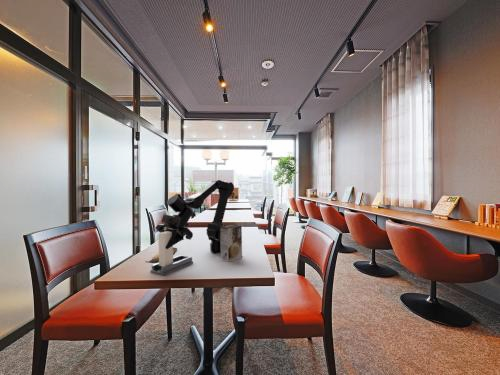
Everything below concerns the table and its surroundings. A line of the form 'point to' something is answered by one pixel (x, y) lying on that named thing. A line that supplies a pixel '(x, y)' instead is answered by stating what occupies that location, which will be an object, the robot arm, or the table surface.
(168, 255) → the cream rectangular block
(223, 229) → the coffee box
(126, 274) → the table surface
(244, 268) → the table surface
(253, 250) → the table surface
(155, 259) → the parchment
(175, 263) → the grey rectangular tray
